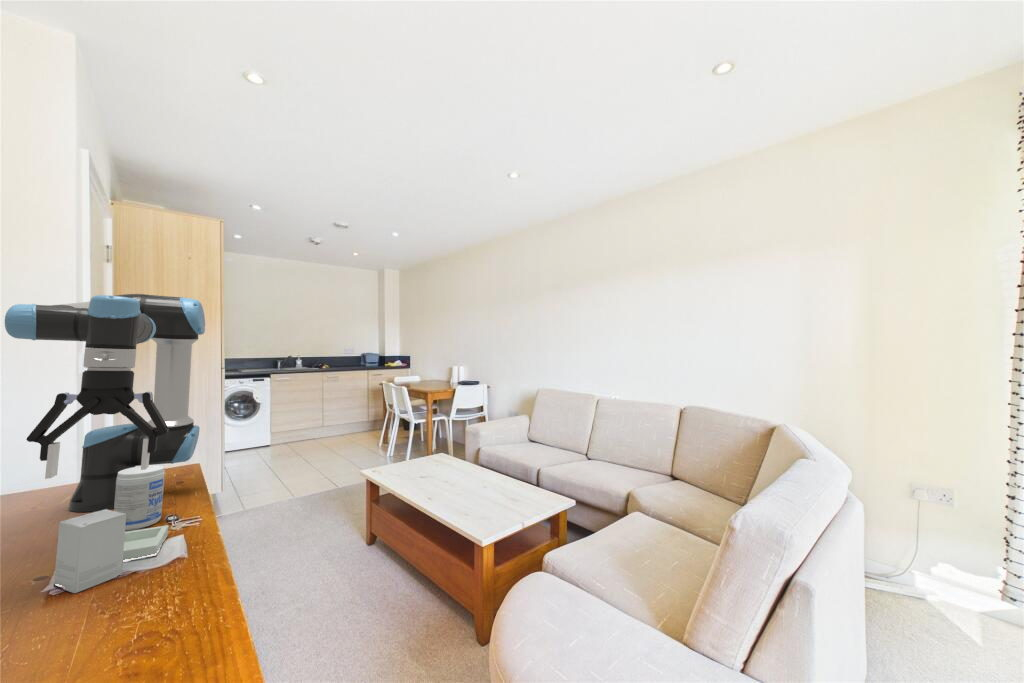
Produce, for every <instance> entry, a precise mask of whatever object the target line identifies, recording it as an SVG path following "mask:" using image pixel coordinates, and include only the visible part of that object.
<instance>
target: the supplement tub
mask: <svg viewBox="0 0 1024 683" xmlns="http://www.w3.org/2000/svg"><path fill="white" fill-rule="evenodd" d="M165 473H166V472H165V466H164V465H162V464H156V465H149V467H148V468H147V469H146V470H141V466H135V467H133V468H128V469H124V470H121V471H119V472H118V475H117V480H116V491H115V503H114V508H113V511H116V512H120V513H125V514H126V524H125V532H127V531H133V530H140V529H145V528H146V527H147V528H148V527H150V526H152V525H154V524H157V523H158V522H159V521H160V520H161V519H162V512H163V511H162V510H163V501H164V500H163V499H164V487H165V475H166V474H165Z"/></svg>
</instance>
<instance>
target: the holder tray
mask: <svg viewBox="0 0 1024 683" xmlns="http://www.w3.org/2000/svg"><path fill="white" fill-rule="evenodd" d="M169 526H170V525H169V524H168V525H161V526H160V525H159V526H156V527H154V526H153V527H147V528H140V529H135V530H127V531H125V537H124V550H123V560H125V559H131V558H138V557H142V556H147V555H151V554H155V553H157V551H158V550H159V548H160V546H161V545H162V543H163V542H164V541H165V542H166V540H167V538H168V537H169V528H170V527H169ZM165 542H164V543H165ZM164 543H163V544H164ZM162 546H163V545H162Z"/></svg>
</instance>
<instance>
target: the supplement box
mask: <svg viewBox="0 0 1024 683" xmlns="http://www.w3.org/2000/svg"><path fill="white" fill-rule="evenodd" d="M125 524H126V514H125V513H120V512H116V511H114V510H111V509H105V510H99V511H92V512H89V513H86V514H83V515H80V516H79V515H78V516H75V517H72V518H69V519H65V520H62V521H61V520H60V522H59V523H58V534H57V545H56V557H55V569H54V579H53V580H54V581H53V584H54V583H55V584H59V585H62V586H64V587H65V589H63V590H64V591H67V592H69V593H72V594H77V593H80V592H83V591H84V590H85V591H86V590H87V589H90V588H92V587H95V586H97V585H100V584H103V583H106V582H107V581H110V580H113V579H116V578H118V577H119V576H118V575H120V574H121V575H122V573H123V550H124V537H125V532H126V531H125ZM121 575H120V576H121ZM117 576H118V577H117Z"/></svg>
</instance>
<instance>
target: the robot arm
mask: <svg viewBox="0 0 1024 683" xmlns="http://www.w3.org/2000/svg"><path fill="white" fill-rule="evenodd" d="M4 328H5V331H6V333H7V334H8V335H9V336H11V337H12V338H14V339H17V340H18V339H19V340H20V339H21V340H32V341H38V340H39V341H66V342H67V341H68V342H85V345H84V355H83V356H84V357H83V364H82V365H83V367H84V368H87V369H86V370H84V371H82V374H81V386H80V391H79V393H78V394H77V393H76V394H75V393H70V392H61V393H58V394H57V395H56V396H55V401H54V404H53V406H52V407H51V408H50V409H49V410H48V412H47V413H46V414H45V415H44V416H43V418H42V419H41V420H40V421H39V422H38V424H36V426H35V427H34V429H33V430H32V431H31V432H30V433H29V435H28V436H27V437H26V442H29V443H30V442H31V443H36V444H37V443H38V444H40V451H39V452H40V454H39V460H40V461H41V462H46V465H45V466H46V467H45V474H44V476H45V477H44V479H45V480H46V479H52V478H54V477H56V476H57V475H58V466H59V457H60V451H61V450H60V448H61V441H57V442H56V440H57V439H58V438H60V437H61V436H62V435H64V433H66V432H67V431H69V429H70V428H72V427H74V426H75V425H76V424H77V423H78V422H80V421H81V420H83V418H85V417H86V416H88V415H89V414H90V415H93V416H98V415H115V414H116V415H117V414H119V413H120V414H121V415H122V416H124V417H126V418H127V419H128V420H129V421H130V422H131V423H126V424H125V423H124V424H118V425H110V426H106V427H100V428H96V429H93V430H90V431H88V432H86V434H85V436H84V439H83V440H84V441H83V445H82V446H81V448H82V457H81V468H80V480H79V482H78V484H77V486H76V488H75V490H74V492H73V494H72V496H71V498H70V499H69V502H68V511H70V512H75V513H76V512H77V513H86V512H88V513H91V512H97V511H101V510H105V509H107V510H111V509H114V503H115V491H116V480H117V475H118V472H119V471H121V470H124V469H128V468H133V467H139V466H141V470H146V469H147V468H148V467H149V465H165V464H167V465H169V464H172V465H173V464H177V463H186V462H188V461H189V460H190V459H192V457H193V455H194V453H195V450H196V448H197V445H198V441H199V435H200V428H201V427H200V426H199V425H196V424H195V425H194V421H195V420H194V418H192V417H191V416H189V405H190V388H191V385H190V384H191V367H192V354H193V353H192V352H193V351H192V349H193V344H194V343H195V342H197V341H198V340H199V336H201V335H204V334H205V332H206V317H205V311H204V308H203V305H202V303H201V302H200V301H199V300H198V299H195V298H189V297H183V296H181V297H180V296H166V295H158V294H157V295H155V294H143V293H126V294H116V295H115V294H114V295H109V294H108V295H106V294H98V295H94V296H92V297H91V298H90V300H89V301H84V302H83V301H82V302H74V303H63V304H52V305H51V304H50V305H47V304H43V305H42V304H36V303H32V304H31V303H30V304H29V303H28V304H26V303H17V304H14V305H12V306H11V307H9V308H8V309H7V311H6V313H5V315H4ZM150 340H153V341H154V342H155V343H156V353H155V355H156V357H155V370H154V371H155V373H154V374H155V375H154V388H153V389H154V391H153V392H154V394H153V392H151V391H146V392H141V393H140V392H139V393H135V392H134V381H135V380H134V379H135V372H134V371H133V370H131V369H135V367H136V357H137V346H138V344H143V343H147V342H148V341H150ZM135 399H136V400H137V402H139V403H141V404H142V405H143V407H144V409H145V411H146V412H147V414H148V415H149V417H150V420H149V421H146V420H145V419H144V418H143V417H142V416H141V415H140V414H139V413H138V412H136V410H135V409H134V407H132V406H131V403H132V402H134V400H135ZM74 401H77V403H78V404H80V405H81V406H82V407H80V408H79V409H78V410H76V411H75V412H74V413H73V414H72V415H71V416H70V417H68V418H67V419H66V420H64V421H63V422H61V424H59V425H58V426H56V427H55V429H53V430H52V431H50V432H49V433H48V434H47V435H45V434H46V433H47V431H48V430H49V429H50V428H51V427H52V425H53V424H54V423H55V421H57V419H58V418H59V417H60V416H61V414H62V413H63V411H64V410H65V409H66V408H67V407H68V405H71V404H73V402H74Z"/></svg>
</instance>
